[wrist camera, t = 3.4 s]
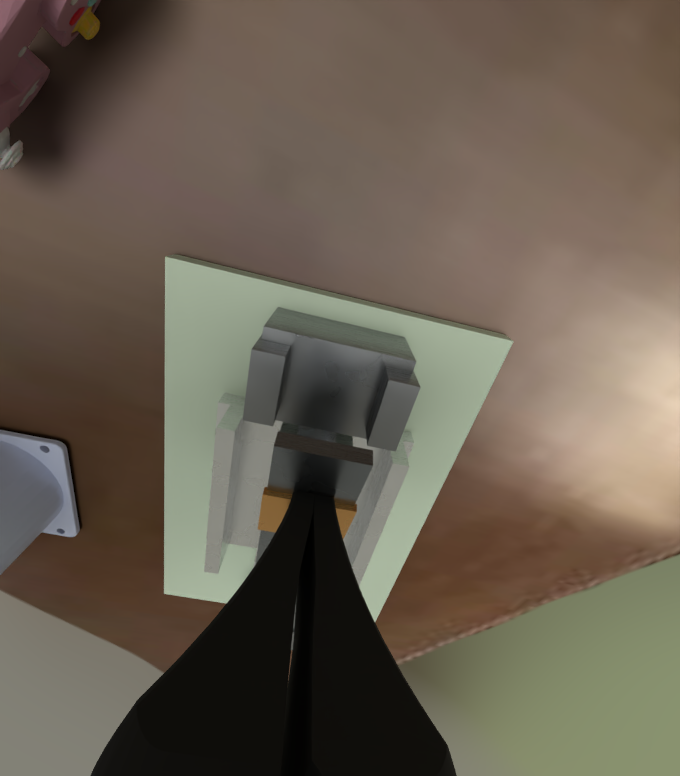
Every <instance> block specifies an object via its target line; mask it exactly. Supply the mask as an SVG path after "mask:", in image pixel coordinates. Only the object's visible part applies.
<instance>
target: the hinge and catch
mask: <svg viewBox="0 0 680 776" xmlns="http://www.w3.org/2000/svg"><path fill="white" fill-rule="evenodd" d="M415 365H416V359H415V357H414V355H413V353H412V351H411V349H410V347H409V345H408V343H407V341H406V339H405V337H403V336H398V335H394V334H390V333H386V332H382V331H377V330H373V329H369V328H365V327H360V326H356V325H352V324H348V323H344V322H339V321H335V320H331V319H327V318H323V317H318V316H314V315H310V314H306V313H301V312H297V311H293V310H289V309H285V308H280V307H277V309H276V310H275V311H274V313H273V314H272V316H271V317H270V318H269V320H268V321H267V322H266V324H265V325H264V327H263V333H262V335H261V336H260V338H259V339H258V341H257V342H256V343H255V345H254V346H253V348H252V349H251V356H250V364H249V372H248V380H247V388H246V396H245V404H244V412H243V419H242V420H244V421H249V422H254V423H259V424H263V425H268V426H273V425H274V422H275V420H277V421H282V422H286V423H291V424H296V425H301V426H306V427H311V428H316V429H320V430H325V431H330V432H335V433H340V434H345V435H349V436H354V437H359V438H364V439H366V440H367V446H371V447H376V448H381V449H385V450H390V451H395V452H396V450H397V447H398V444H399V442H400V439H401V437H402V434H403V431H404V429H405V426H406V424H407V421H408V419H409V416H410V413H411V411H412V408H413V406H414V403H415V401H416V398H417V395H418V393H419V390H420V388H421V387H420V385H419V382H418V380H417V378H416V375H415V373H414V371H413V370H414V367H415ZM293 642H294V628H293V634H292V643H291V650H293Z"/></svg>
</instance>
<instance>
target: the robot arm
mask: <svg viewBox="0 0 680 776" xmlns="http://www.w3.org/2000/svg"><path fill="white" fill-rule="evenodd" d="M79 531H80V527H79V521H78V514H77V508H76V502H75V495H74V489H73V483H72V476H71V470H70V464H69V457H68V451H67V447H66V445H65V444H64V443H62V442H60V441H57V440H52V439H47V438H41V437H36V436H31V435H26V434H20V433H15V432H10V431H5V430H0V575H1V574H2V573H3V572H4V571H5V570H6V569H7V568H8V567H9V566H10V565H11V564H12V563H13V561H14V560H15V559H16V558H17V557H18V556H19V555H20V554H21V553H22V552H23V551H24V550H25V549H26V548H27V547H28V546H29V545H30V544H31V543H32V542H33V541H34V540H35V539H36V537H37V536H38V535H39V534H40V533H41V532H43V533H49V534H55V535H61V536H67V537H74V536H76V535H77V534H78V533H79ZM296 596H297V597H296ZM295 605H296V613H295ZM294 614H295V628H294V642H293V651H292V660H291V667H290V674H289V664H290V654H291V643H292V634H293V624H294ZM288 675H289V681H288ZM287 686H288V687H287ZM91 776H456V772H455V768H454V765H453V762H452V758H451V755H450V752H449V748H448V745H447V744H446V742H445V741H444V739H443V738H442V736H441V735H440V733H439V732H438V731H437V729H436V727H435V726H434V724H433V723H432V721H431V720H430V718H429V717H428V715H427V713H426V712H425V710H424V709H423V707H422V706H421V704H420V703H419V701H418V700H417V698H416V696H415V695H414V693H413V691H412V689H411V688H410V686H409V685H408V683H407V681H406V680H405V678H404V676H403V675H402V673H401V671H400V669H399V667H398V665H397V664H396V662H395V660H394V658H393V656H392V655H391V653H390V651H389V649H388V647H387V645H386V644H385V642H384V640H383V638H382V636H381V634H380V632H379V630H378V628H377V626H376V624H375V622H374V620H373V617H372V615H371V613H370V611H369V609H368V606H367V604H366V602H365V600H364V597H363V595H362V592H361V590H360V587H359V585H358V582H357V580H356V577H355V574H354V572H353V569H352V566H351V563H350V560H349V557H348V554H347V551H346V548H345V544H344V541H343V538H342V534H341V530H340V526H339V522H338V518H337V513H336V507H335V500H334V499H333V498H332V497H328V496H322V495H317V494H315V495H314V494H312V493H307V492H302V491H295V492H293V494H292V498H291V501H290V504H289V506H288V509H287V511H286V513H285V515H284V517H283V520H282V522H281V524H280V525H279V527H278V529H277V531H276V533H275V534H274V536H273V538H272V540H271V541H270V543H269V545H268V546H267V548H266V549H265V551H264V552H263V554H262V556H261V557H260V559H259V560H258V562H257V563H256V565H255V566H254V568H253V569H252V571H251V572H250V573H249V575H248V576H247V578H246V579H245V580H244V582H243V583H242V584H241V586H240V587H239V588H238V590H237V591H236V592H235V594H234V595H233V596H232V598H231V599H230V600H229V601H228V603H227V604H226V605H225V606H224V608H223V609H222V610H221V611H220V612H219V614H218V615H217V616H216V617H215V618H214V620H213V621H212V622H211V623H210V624H209V626H208V627H207V628H206V629H205V630H204V631H203V632H202V633H201V634H200V636H199V637H198V638H197V639H196V640H195V641H194V642H193V643H192V644H191V646H190V647H189V648H188V649H187V650H186V651H185V652H184V653H183V654H182V655H181V657H180V658H179V659H178V660H177V661H176V662H175V663H174V664H173V665H172V666H171V667H170V668H169V669H168V670H167V671H166V672H165V673H164V674H163V675H162V676H161V677H160V678H159V679H158V680H157V681H156V682H155V683H154V684H153V685H152V686H151V687H150V688H149V689H148V690H147V691H146V692H145V693H144V694H143V695H142V696H141V697H140V698H139V699H138V700H137V701H136V703H135V704H134V706H133V707H132V709H131V710H130V711H129V713H128V714H127V716H126V717H125V719H124V720H123V721H122V723H121V724H120V726H119V727H118V729H117V730H116V732H115V733H114V735H113V736H112V738H111V739H110V741H109V742H108V744H107V746H106V747H105V749H104V751H103V752H102V754H101V756H100V758H99V760H98V761H97V763H96V765H95V767H94V769H93V771H92V774H91Z"/></svg>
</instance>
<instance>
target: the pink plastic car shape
mask: <svg viewBox="0 0 680 776" xmlns="http://www.w3.org/2000/svg"><path fill="white" fill-rule="evenodd" d="M100 1H101V0H0V158H2V160H1V162H0V169H1V170H4V169H8V168H9V167H12V168H13V167H14V166H15V165H16V164H17V163H18V162H19V160H20V159H21V157H22V156H23V153H22V151H23V147H22V145H23V143H22V142H21V141H20V140H18V141H17V142H16V143H15V144H14V145H13V146H10V132H9V128H10V124H11V123H12V122H13V121H14V120H15V119H16V118H17V117H18V116H19V115H20V114H21V113H22V112H23V111H24V110H25V109H26V108H27V106H28V105H29V104H30V102H31V101H32V100H33V99H34V97H35V96H36V95H37V93H38V92H39V90H40V89H41V87H42V86H43V85H44V83H45V81H46V80H47V78H48V76H49V73H50V70H49V68H48V67H47V66H46V65H45V64H44V63H43V62H42V61H41V60H40V59H39V58H38V57H37V56H36V55H35V54H34V53H32V52H31V51H30V50H29V49H28V46H29V45H30V43H31V42H32V40H33V39H34V37H35V36H36V34H37V33H38V31H39V30H40V28H41V27H43V28H44V29H45V30H46V31H47V32H48V33H49V34H50V35H51V36H52V37H53V38H54V39H55V40H56V41H57V42H58V43H59V44H60V45H61V46H63V47H66V46H67V45H69V44H70V43H71V42H72V41H73V40H74V39H75V38H76V37H77V36H78V35H79V33H80V34H81V35H82V36H83V37H84V38H85V39H87V40H90V39H92V38H93V37H94V36H95V35H96V34H97V32H98V31H99V27H100V22H99V20H98V19H97V17H96V16H95V15H94V14H93V13H94V12H95V10H96V9H97V7H98V5H99V3H100Z"/></svg>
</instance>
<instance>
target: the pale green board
mask: <svg viewBox="0 0 680 776" xmlns="http://www.w3.org/2000/svg"><path fill="white" fill-rule="evenodd" d="M277 307H280V308H285V309H289V310H293V311H297V312H301V313H306V314H310V315H314V316H318V317H323V318H327V319H331V320H335V321H339V322H344V323H348V324H352V325H356V326H360V327H365V328H369V329H373V330H377V331H382V332H386V333H390V334H394V335H398V336H403V337H405V339H406V341H407V343H408V345H409V347H410V349H411V351H412V353H413V355H414V357H415V359H416V365H415V367H414V370H413V371H414V373H415V375H416V378H417V380H418V382H419V385H420V387H421V388H420V390H419V393H418V395H417V398H416V401H415V403H414V406H413V408H412V411H411V413H410V416H409V419H408V421H407V424H406V426H405V429H404V431H409V432H411V434H412V437H413V440H414V445H413V447H412V450H411V452H410V455H409V457H408V462H409V466H410V467H409V469H408V471H407V474H406V476H405V479H404V481H403V483H402V486H401V488H400V490H399V493H398V495H397V498H396V500H395V502H394V505H393V507H392V509H391V512H390V514H389V517H388V519H387V521H386V524H385V526H384V528H383V531H382V533H381V536H380V538H379V540H378V543H377V545H376V547H375V550H374V552H373V555H372V557H371V559H370V562H369V564H368V566H367V569H366V571H365V574H364V576H363V578H362V581H361V583H360V585H359V587H360V590H361V592H362V595H363V597H364V600H365V602H366V604H367V606H368V609H369V611H370V613H371V615H372V617H373V620H374V622H375V621H376V619H377V617H378V615H379V613H380V611H381V609H382V607H383V605H384V603H385V601H386V599H387V597H388V595H389V593H390V591H391V589H392V587H393V585H394V583H395V581H396V579H397V577H398V575H399V573H400V571H401V569H402V567H403V565H404V563H405V560H406V558H407V556H408V554H409V552H410V550H411V548H412V546H413V544H414V542H415V540H416V538H417V536H418V534H419V532H420V530H421V528H422V526H423V524H424V522H425V520H426V518H427V516H428V514H429V512H430V510H431V508H432V506H433V504H434V502H435V500H436V498H437V496H438V494H439V492H440V490H441V488H442V485H443V483H444V481H445V479H446V477H447V475H448V473H449V471H450V469H451V467H452V465H453V463H454V461H455V459H456V457H457V455H458V453H459V451H460V449H461V447H462V445H463V443H464V441H465V439H466V437H467V435H468V433H469V431H470V429H471V427H472V425H473V423H474V421H475V419H476V417H477V415H478V413H479V410H480V408H481V406H482V404H483V402H484V400H485V398H486V396H487V394H488V392H489V390H490V388H491V386H492V384H493V382H494V380H495V378H496V376H497V374H498V372H499V370H500V368H501V366H502V364H503V362H504V360H505V358H506V356H507V354H508V352H509V350H510V348H511V346H512V344H513V342H514V341H513V340H511V339H510V338H509V337H507V336H506V335H504V334H500V333H496V332H492V331H488V330H484V329H480V328H476V327H472V326H468V325H463V324H459V323H455V322H451V321H447V320H443V319H439V318H435V317H431V316H427V315H423V314H419V313H414V312H410V311H406V310H402V309H398V308H394V307H390V306H386V305H382V304H378V303H374V302H369V301H365V300H361V299H357V298H353V297H349V296H345V295H341V294H337V293H333V292H329V291H324V290H320V289H316V288H312V287H308V286H304V285H300V284H296V283H292V282H288V281H284V280H280V279H275V278H271V277H267V276H263V275H259V274H255V273H251V272H247V271H243V270H239V269H235V268H230V267H226V266H222V265H218V264H214V263H210V262H206V261H202V260H198V259H194V258H190V257H186V256H181V255H177V254H174V255H170V256H165V464H164V594H170V595H176V596H182V597H189V598H195V599H202V600H208V601H214V602H221V603H228V601H229V600H230V599H231V598H232V596H233V595H234V594H235V592H236V591H237V590H238V588H239V587H240V586H241V584H242V583H243V582H244V580H245V579H246V578H247V576H248V575H249V573H250V572H251V571H252V569H253V567H254V561H255V556H256V551H257V548H251V547H245V546H240V545H234V544H229V545H228V548H227V551H226V554H225V557H224V559H223V562H222V565H221V568H220V571H219V573H218V574H215V573H209V572H204V566H205V555H206V543H207V540H206V537H207V525H208V514H209V502H210V490H211V478H212V467H213V455H214V443H215V431H216V420H217V408H218V401H219V400H220V399H221V397H222V396H223V394H224V393H229V394H233V395H238V396H243V397H245V396H246V388H247V380H248V372H249V364H250V356H251V349H252V348H253V346H254V345H255V343H256V342H257V341H258V339H259V338H260V336H261V335H262V333H263V327H264V325H265V324H266V322H267V321H268V320H269V318H270V317H271V316H272V314H273V313H274V311H275V310H276V309H277Z"/></svg>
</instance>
